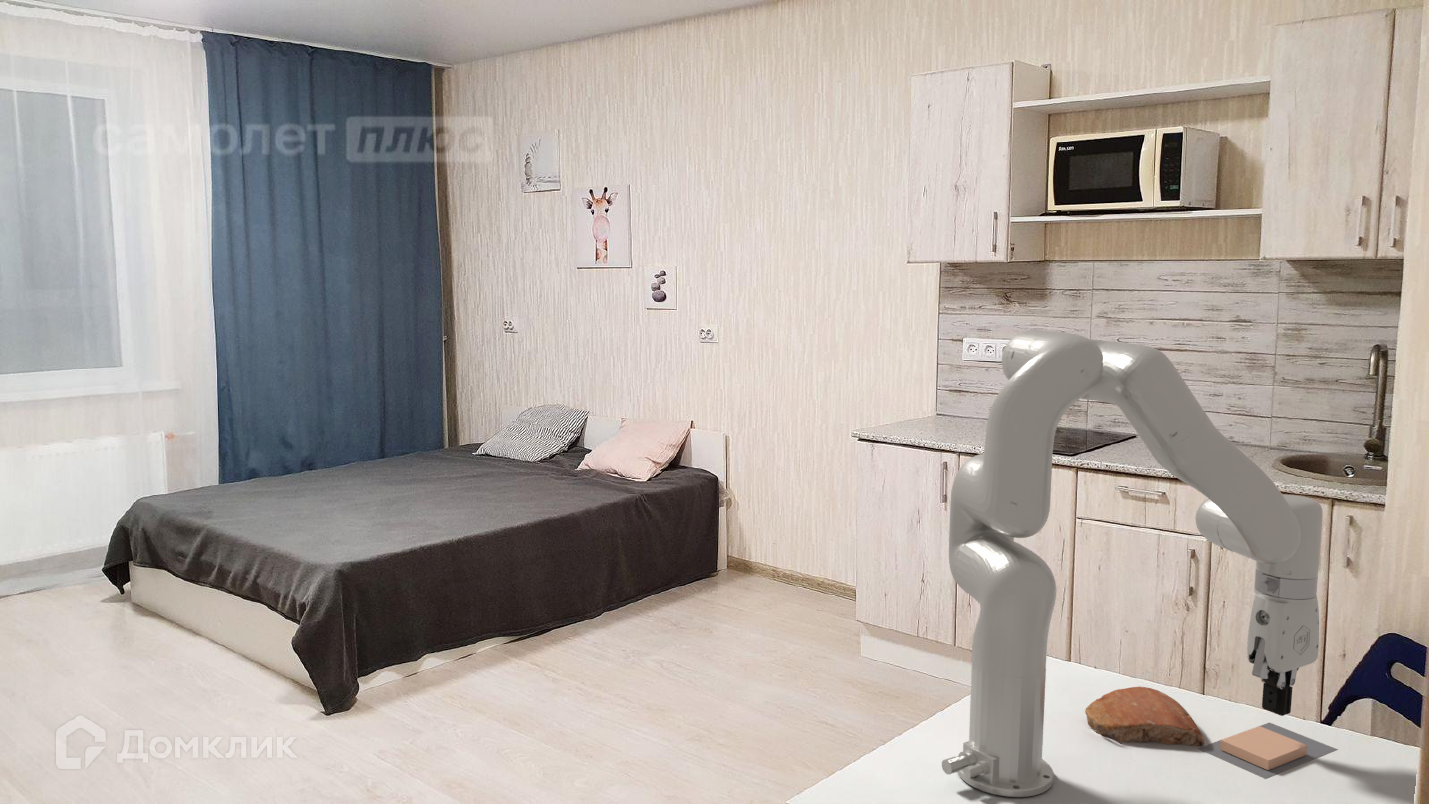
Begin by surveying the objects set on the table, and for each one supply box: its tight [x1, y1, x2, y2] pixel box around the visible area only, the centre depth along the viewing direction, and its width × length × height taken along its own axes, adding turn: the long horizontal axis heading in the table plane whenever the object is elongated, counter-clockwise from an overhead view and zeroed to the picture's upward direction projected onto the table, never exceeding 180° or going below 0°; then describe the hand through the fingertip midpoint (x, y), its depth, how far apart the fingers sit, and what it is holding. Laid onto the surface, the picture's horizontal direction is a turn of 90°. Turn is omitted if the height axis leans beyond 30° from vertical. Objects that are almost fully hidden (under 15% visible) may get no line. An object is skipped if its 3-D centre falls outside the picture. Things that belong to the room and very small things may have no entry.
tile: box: [1220, 725, 1307, 770], centre depth 143 cm, size 2×7×9 cm
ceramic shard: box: [1084, 686, 1205, 748], centre depth 153 cm, size 15×6×15 cm
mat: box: [1197, 722, 1339, 780], centre depth 145 cm, size 17×10×1 cm, turn 120°
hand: (1276, 711), depth 144 cm, fingers closed
